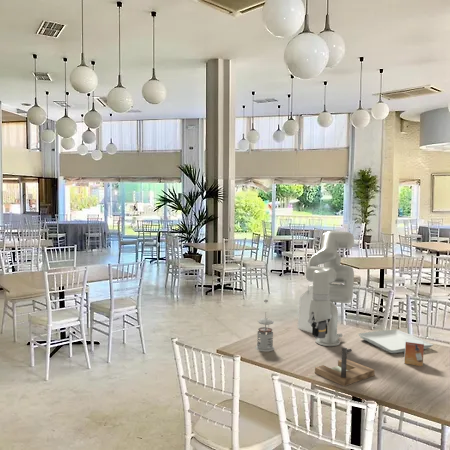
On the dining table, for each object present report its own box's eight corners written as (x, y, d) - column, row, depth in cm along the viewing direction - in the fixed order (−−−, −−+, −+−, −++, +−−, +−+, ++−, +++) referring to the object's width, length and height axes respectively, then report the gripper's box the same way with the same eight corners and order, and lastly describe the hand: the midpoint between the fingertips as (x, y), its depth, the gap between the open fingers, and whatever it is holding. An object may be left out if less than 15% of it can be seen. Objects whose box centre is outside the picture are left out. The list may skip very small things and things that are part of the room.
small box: (404, 363, 208) (405, 341, 207) (404, 359, 213) (405, 338, 212) (423, 366, 205) (424, 344, 204) (422, 362, 210) (423, 340, 209)
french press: (253, 350, 222) (254, 300, 221) (257, 343, 233) (258, 295, 232) (273, 352, 220) (274, 302, 218) (276, 344, 231) (277, 297, 230)
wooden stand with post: (345, 363, 206) (346, 333, 205) (374, 375, 193) (375, 342, 192) (314, 373, 195) (316, 340, 194) (344, 386, 182) (345, 351, 181)
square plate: (356, 339, 243) (356, 332, 243) (396, 335, 253) (396, 328, 252) (391, 357, 218) (391, 349, 217) (434, 351, 227) (434, 343, 227)
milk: (310, 324, 268) (311, 282, 267) (325, 329, 260) (327, 285, 258) (297, 328, 261) (298, 284, 259) (312, 333, 252) (314, 287, 250)
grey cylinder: (319, 333, 213) (319, 319, 212) (328, 336, 208) (328, 322, 208) (311, 335, 210) (311, 321, 209) (320, 339, 205) (320, 324, 205)
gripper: (327, 292, 215) (326, 328, 217) (301, 297, 205) (300, 335, 207) (339, 295, 209) (338, 333, 211) (313, 301, 199) (312, 340, 201)
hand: (319, 334), depth 209 cm, fingers closed on grey cylinder, 5 cm apart
